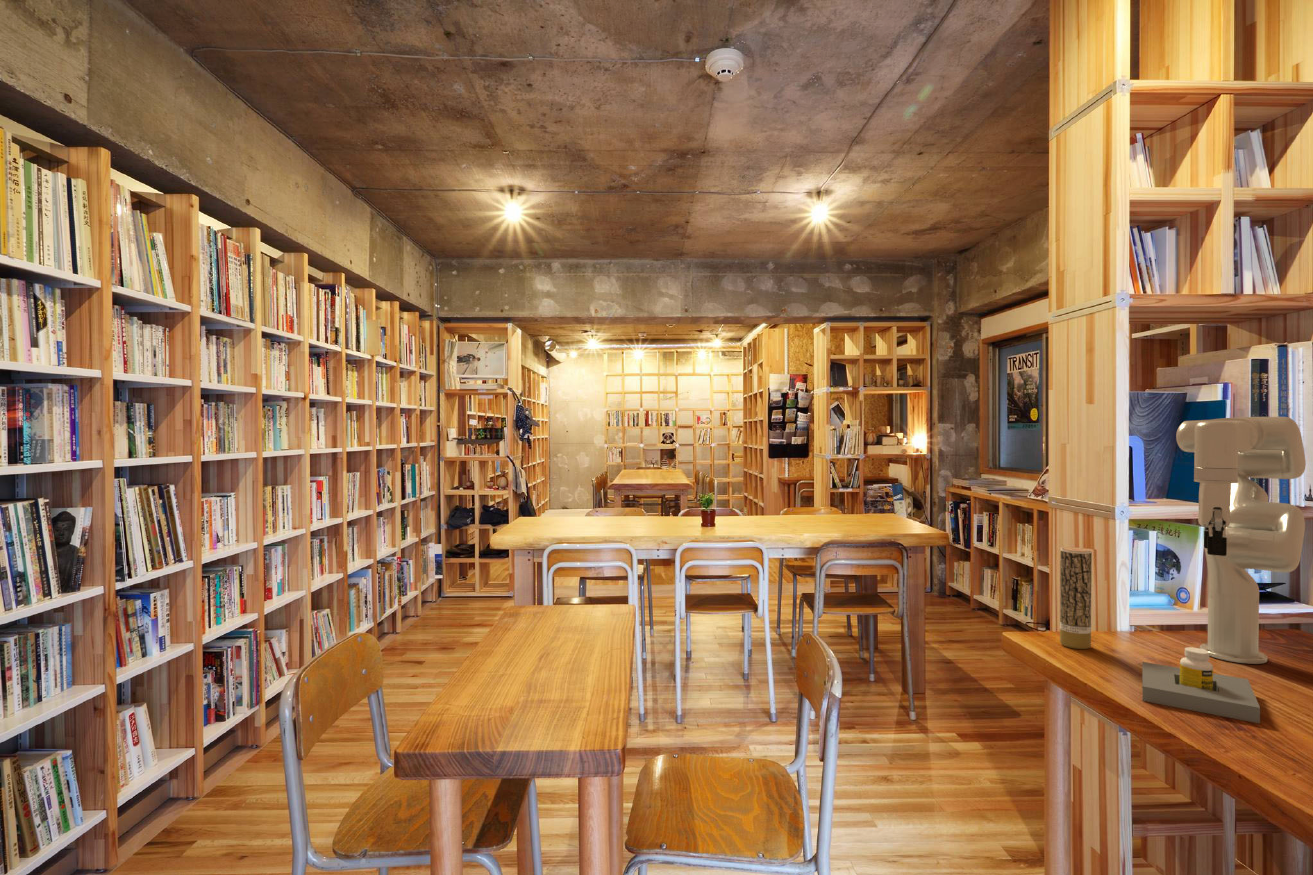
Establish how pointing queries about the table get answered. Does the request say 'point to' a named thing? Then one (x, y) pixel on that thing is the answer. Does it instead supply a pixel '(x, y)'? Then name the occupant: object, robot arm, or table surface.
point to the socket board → (1200, 693)
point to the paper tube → (1075, 597)
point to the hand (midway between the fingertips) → (1214, 551)
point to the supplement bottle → (1196, 669)
